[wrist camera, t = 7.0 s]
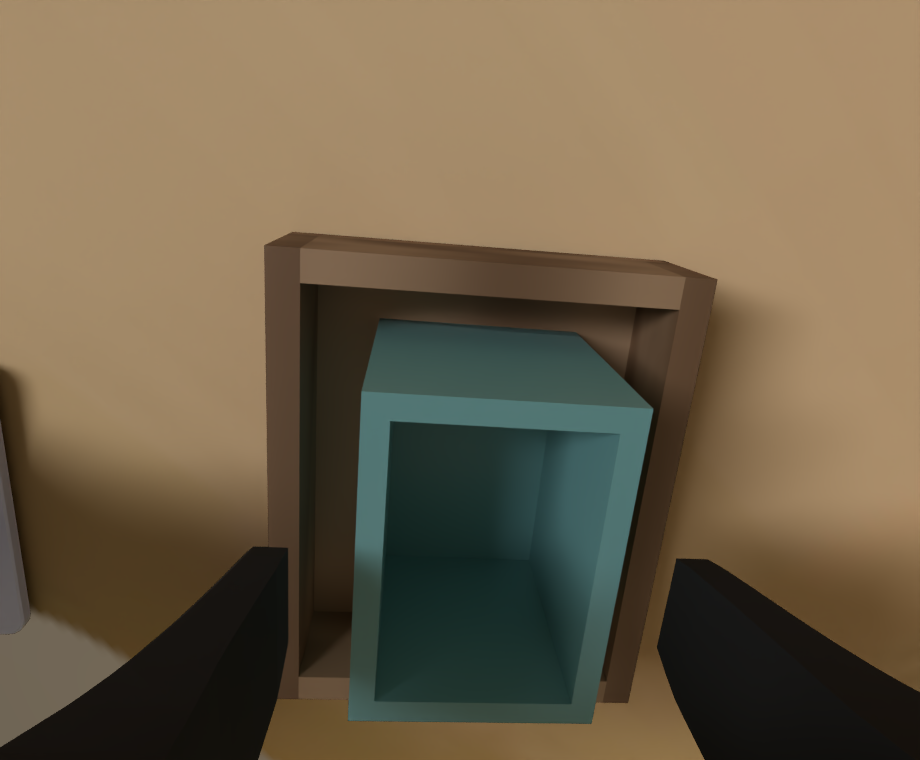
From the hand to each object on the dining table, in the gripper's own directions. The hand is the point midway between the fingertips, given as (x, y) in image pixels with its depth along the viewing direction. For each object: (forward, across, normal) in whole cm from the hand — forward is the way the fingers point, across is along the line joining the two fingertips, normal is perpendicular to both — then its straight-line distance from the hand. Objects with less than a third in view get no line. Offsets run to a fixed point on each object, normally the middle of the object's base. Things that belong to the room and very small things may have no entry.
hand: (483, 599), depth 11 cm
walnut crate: (+6, 0, 0) cm, 6 cm away
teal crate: (+6, 0, 0) cm, 6 cm away
